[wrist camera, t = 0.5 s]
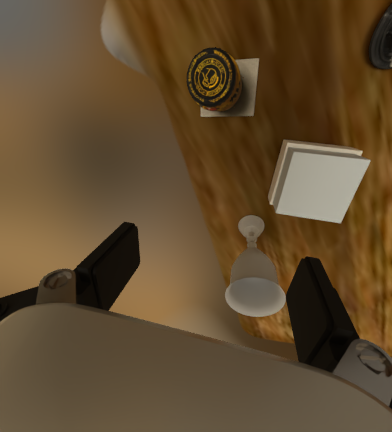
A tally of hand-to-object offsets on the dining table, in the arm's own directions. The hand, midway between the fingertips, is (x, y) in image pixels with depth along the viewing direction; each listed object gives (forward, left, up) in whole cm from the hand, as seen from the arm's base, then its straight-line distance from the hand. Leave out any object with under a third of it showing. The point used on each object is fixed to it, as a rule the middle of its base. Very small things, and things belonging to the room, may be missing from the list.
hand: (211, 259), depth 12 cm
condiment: (-10, -3, -28) cm, 30 cm away
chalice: (+13, +6, -28) cm, 31 cm away
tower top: (+1, +12, -24) cm, 27 cm away
